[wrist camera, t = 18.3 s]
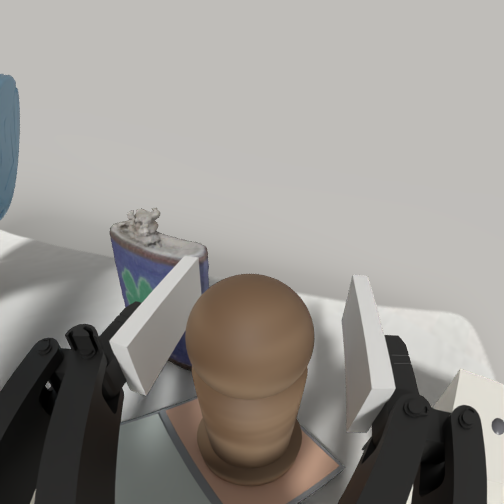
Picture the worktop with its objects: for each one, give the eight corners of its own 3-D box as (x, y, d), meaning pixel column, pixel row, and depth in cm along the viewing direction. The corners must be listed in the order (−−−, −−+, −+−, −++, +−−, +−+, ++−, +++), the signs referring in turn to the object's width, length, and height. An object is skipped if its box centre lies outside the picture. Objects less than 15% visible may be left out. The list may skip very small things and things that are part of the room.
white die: (377, 504, 8) (436, 466, 6) (414, 428, 13) (460, 367, 10) (456, 526, 5) (529, 487, 2) (480, 450, 9) (535, 394, 6)
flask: (224, 358, 19) (215, 214, 14) (196, 383, 17) (172, 232, 12) (146, 311, 24) (124, 195, 19) (121, 326, 22) (91, 205, 17)
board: (0, 451, 8) (-7, 445, 7) (250, 377, 18) (251, 370, 17) (30, 569, 1) (22, 567, 1) (342, 470, 11) (346, 466, 10)
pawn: (182, 434, 12) (130, 274, 8) (256, 394, 15) (261, 233, 11) (240, 503, 9) (225, 395, 4) (317, 447, 12) (379, 289, 7)
